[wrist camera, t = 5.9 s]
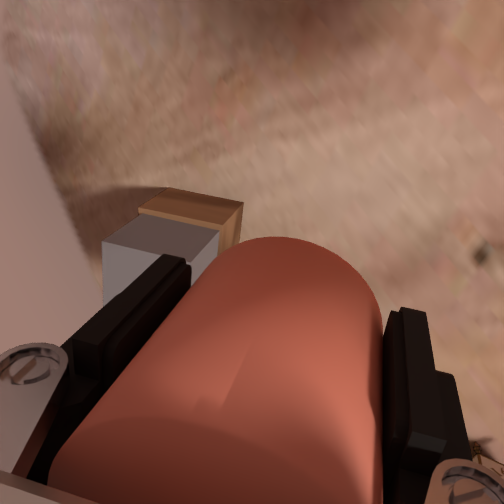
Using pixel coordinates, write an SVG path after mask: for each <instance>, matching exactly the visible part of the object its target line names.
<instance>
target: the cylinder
mask: <svg viewBox="0 0 504 504" xmlns="http://www.w3.org/2000/svg"><path fill="white" fill-rule="evenodd" d="M47 486H49V487H52V488H55V489H58V490H61V491H64V492H67V493H70V494H73V495H75V496H78V497H81V498H84V499H87V500H90V501H93V502H96V503H99V504H383V325H382V317H381V313H380V309H379V306H378V303H377V301H376V299H375V296H374V294H373V292H372V291H371V289H370V287H369V286H368V284H367V283H366V281H365V280H364V279H363V278H362V276H361V275H360V274H359V273H358V272H357V271H356V270H355V269H354V268H353V267H352V266H351V265H350V264H349V263H348V262H346V261H345V260H343V259H342V258H341V257H339V256H338V255H336V254H335V253H333V252H331V251H329V250H327V249H325V248H324V247H321V246H319V245H316V244H314V243H311V242H307V241H304V240H300V239H295V238H288V237H263V238H256V239H252V240H248V241H244V242H242V243H239V244H237V245H234V246H232V247H231V248H229V249H227V250H225V251H224V252H222V253H221V254H220V255H219V256H217V257H216V258H215V259H214V260H213V261H212V262H211V263H210V264H209V265H208V266H207V268H206V269H205V270H204V271H203V273H202V274H201V275H200V276H199V278H198V279H197V280H196V281H195V283H194V284H193V285H192V286H191V287H190V289H189V290H188V291H187V292H186V294H185V295H184V296H183V297H182V299H181V300H180V301H179V302H178V304H177V305H176V306H175V307H174V309H173V310H172V311H171V312H170V313H169V315H168V316H167V317H166V318H165V320H164V321H163V322H162V323H161V325H160V326H159V327H158V328H157V330H156V331H155V332H154V333H153V335H152V336H151V337H150V338H149V340H148V341H147V342H146V343H145V344H144V346H143V347H142V348H141V349H140V351H139V352H138V353H137V354H136V356H135V357H134V358H133V359H132V361H131V362H130V363H129V364H128V366H127V367H126V368H125V369H124V370H123V372H122V373H121V374H120V375H119V377H118V378H117V379H116V380H115V382H114V383H113V384H112V385H111V387H110V388H109V389H108V390H107V392H106V393H105V394H104V395H103V396H102V398H101V399H100V400H99V401H98V403H97V404H96V405H95V406H94V408H93V409H92V410H91V411H90V413H89V414H88V415H87V416H86V418H85V419H84V420H83V421H82V423H81V424H80V425H79V426H78V427H77V429H76V430H75V431H74V432H73V434H72V435H71V436H70V437H69V439H68V440H67V441H66V442H65V444H64V445H63V446H62V447H61V449H60V450H59V452H58V453H57V455H56V456H55V458H54V460H53V462H52V465H51V468H50V471H49V475H48V482H47Z"/></svg>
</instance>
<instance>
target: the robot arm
mask: <svg viewBox="0 0 504 504" xmlns="http://www.w3.org/2000/svg"><path fill="white" fill-rule="evenodd" d="M191 277H192V267H191V265H189V264H186V260H185V258H182V257H178V256H173V255H169V254H162V255H161V256H160V257H159V258H158V259H157V260H156V261H155V262H153V263H152V264H151V265H150V266H149V267H148V268H147V269H146V270H145V271H144V272H143V273H142V274H141V275H139V276H138V277H137V278H136V279H135V280H134V281H133V282H132V283H131V284H130V285H129V286H128V287H126V288H125V289H124V290H123V291H122V292H121V293H119V294H118V295H116V296H115V297H114V298H112V299H111V300H110V301H109V302H108V303H107V304H106V305H105V306H104V307H103V308H102V309H101V310H99V311H98V313H96V314H95V315H94V316H93V317H92V318H91V319H90V320H89V321H87V323H85V324H84V325H83V326H82V327H81V328H80V329H79V330H78V331H77V332H76V333H74V334H73V335H72V336H71V337H70V338H69V339H68V340H67V341H66V342H65V343H64V344H62V345H61V346H60V347H58V346H56V345H54V344H48V343H29V344H24V345H20V346H17V347H14V348H12V349H9V350H7V351H6V352H4V353H2V354H1V355H0V504H99V503H96V502H93V501H90V500H87V499H84V498H81V497H78V496H75V495H73V494H70V493H67V492H64V491H61V490H58V489H55V488H52V487H49V486H47V482H48V475H49V471H50V468H51V465H52V462H53V460H54V458H55V456H56V455H57V453H58V452H59V450H60V449H61V447H62V446H63V445H64V444H65V442H66V441H67V440H68V439H69V437H70V436H71V435H72V434H73V432H74V431H75V430H76V429H77V427H78V426H79V425H80V424H81V423H82V421H83V420H84V419H85V418H86V416H87V415H88V414H89V413H90V411H91V410H92V409H93V408H94V406H95V405H96V404H97V403H98V401H99V400H100V399H101V398H102V396H103V395H104V394H105V393H106V392H107V390H108V389H109V388H110V387H111V385H112V384H113V383H114V382H115V380H116V379H117V378H118V377H119V375H120V374H121V373H122V372H123V370H124V369H125V368H126V367H127V366H128V364H129V363H130V362H131V361H132V359H133V358H134V357H135V356H136V354H137V353H138V352H139V351H140V349H141V348H142V347H143V346H144V344H145V343H146V342H147V341H148V340H149V338H150V337H151V336H152V335H153V333H154V332H155V331H156V330H157V328H158V327H159V326H160V325H161V323H162V322H163V321H164V320H165V318H166V317H167V316H168V315H169V313H170V312H171V311H172V310H173V309H174V307H175V306H176V305H177V304H178V302H179V301H180V300H181V299H182V297H183V296H184V295H185V294H186V292H187V291H188V290H189V289H190V287H191ZM383 504H504V480H503V479H502V478H501V477H500V476H499V475H497V474H496V473H495V472H493V471H491V470H490V469H488V468H486V467H485V466H483V465H481V464H478V463H475V462H473V460H472V455H471V450H470V446H469V441H468V437H467V432H466V428H465V423H464V419H463V414H462V409H461V405H460V400H459V396H458V391H457V387H456V382H455V379H454V376H453V375H452V374H449V373H445V372H441V371H437V370H435V364H434V358H433V352H432V346H431V340H430V334H429V328H428V322H427V316H426V312H423V311H419V310H414V309H410V308H405V307H401V308H400V310H399V312H396V311H392V310H391V312H390V315H389V318H388V321H387V325H386V328H385V332H384V335H383Z"/></svg>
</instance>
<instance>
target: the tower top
mask: <svg viewBox="0 0 504 504" xmlns="http://www.w3.org/2000/svg"><path fill="white" fill-rule="evenodd" d="M219 232H220V230H215V229H211V228H206V227H202V226H197V225H193V224H188V223H184V222H180V221H175V220H171V219H166V218H162V217H157V216H153V215H148V214H144V213H142V214H141V215H139V216H138V217H136V218H135V219H133V220H132V221H130V222H129V223H127V224H126V225H124V226H123V227H122V228H120V229H119V230H117V231H116V232H114V233H113V234H111V235H110V236H108V237H107V238H105V239H104V240H102V274H103V307H104V306H105V305H106V304H107V303H108V302H109V301H110V300H111V299H112V298H114V297H115V296H116V295H118V294H119V293H121V292H122V291H123V290H124V289H125V288H126V287H128V286H129V285H130V284H131V283H132V282H133V281H134V280H135V279H136V278H137V277H138V276H139V275H141V274H142V273H143V272H144V271H145V270H146V269H147V268H148V267H149V266H150V265H151V264H152V263H153V262H155V261H156V260H157V259H158V258H159V257H160V256H161V255H162V254H169V255H173V256H178V257H182V258H185V260H186V264H189V265H191V267H192V277H191V286H192V285H193V284H194V283H195V281H196V280H197V279H198V278H199V276H200V275H201V274H202V273H203V271H204V270H205V269H206V268H207V266H208V265H209V264H210V263H211V262H212V261H213V260H214V259H215V258H216V257H217V252H218V242H219Z"/></svg>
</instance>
